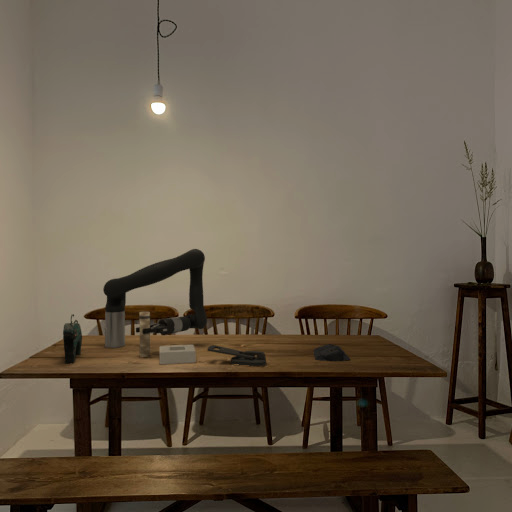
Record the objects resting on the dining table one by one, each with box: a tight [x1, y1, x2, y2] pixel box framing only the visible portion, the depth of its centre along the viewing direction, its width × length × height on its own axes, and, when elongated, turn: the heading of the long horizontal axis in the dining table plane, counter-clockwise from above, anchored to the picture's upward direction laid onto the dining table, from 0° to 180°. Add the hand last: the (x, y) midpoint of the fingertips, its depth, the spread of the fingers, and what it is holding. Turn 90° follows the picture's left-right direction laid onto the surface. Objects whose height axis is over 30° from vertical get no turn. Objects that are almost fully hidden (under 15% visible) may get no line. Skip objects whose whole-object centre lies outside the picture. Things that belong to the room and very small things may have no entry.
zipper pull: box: [207, 344, 267, 367], centre depth 201 cm, size 9×7×25 cm
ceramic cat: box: [62, 313, 83, 365], centre depth 207 cm, size 20×6×20 cm, turn 9°
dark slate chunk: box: [313, 343, 351, 362], centre depth 215 cm, size 15×22×5 cm
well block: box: [159, 344, 197, 365], centre depth 206 cm, size 15×13×5 cm
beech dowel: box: [138, 311, 151, 358], centre depth 211 cm, size 5×5×20 cm
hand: (139, 330), depth 209 cm, fingers closed on beech dowel, 4 cm apart
